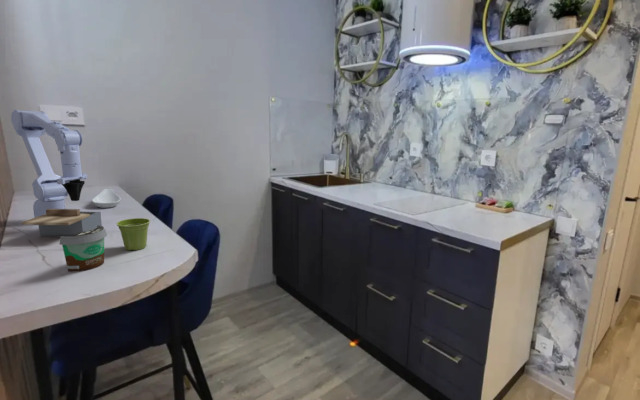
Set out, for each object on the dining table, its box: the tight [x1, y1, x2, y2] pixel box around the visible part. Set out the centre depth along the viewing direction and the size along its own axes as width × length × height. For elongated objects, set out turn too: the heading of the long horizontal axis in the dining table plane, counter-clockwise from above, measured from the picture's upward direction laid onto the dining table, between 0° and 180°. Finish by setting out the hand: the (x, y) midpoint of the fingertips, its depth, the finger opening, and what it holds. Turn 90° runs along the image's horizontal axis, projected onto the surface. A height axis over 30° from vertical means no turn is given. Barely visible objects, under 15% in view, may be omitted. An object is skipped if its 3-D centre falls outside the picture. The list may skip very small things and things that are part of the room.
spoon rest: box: [91, 188, 122, 209], centre depth 165 cm, size 24×12×7 cm, turn 28°
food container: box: [59, 225, 108, 272], centre depth 92 cm, size 12×6×10 cm, turn 168°
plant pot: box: [116, 217, 151, 251], centre depth 107 cm, size 9×9×9 cm
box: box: [38, 210, 103, 237], centre depth 121 cm, size 14×12×6 cm
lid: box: [21, 208, 90, 226], centre depth 114 cm, size 14×12×3 cm
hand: (75, 200), depth 125 cm, fingers closed
